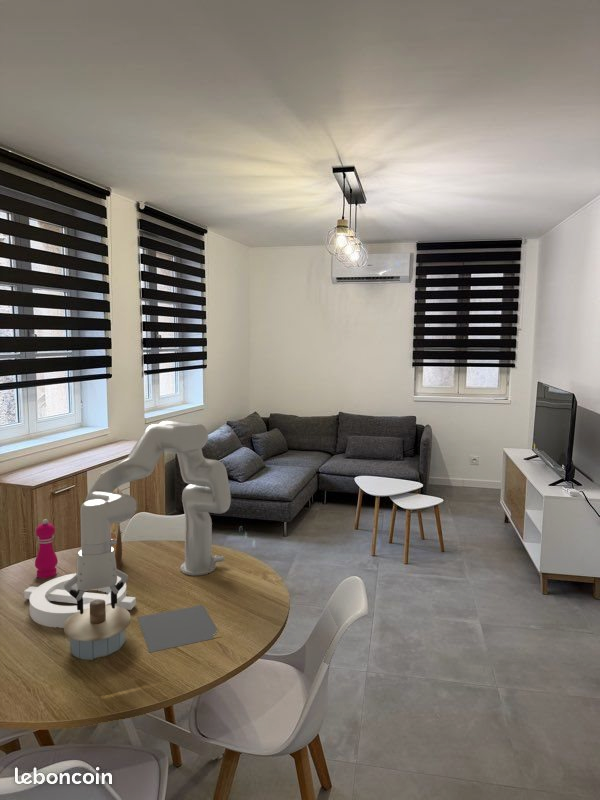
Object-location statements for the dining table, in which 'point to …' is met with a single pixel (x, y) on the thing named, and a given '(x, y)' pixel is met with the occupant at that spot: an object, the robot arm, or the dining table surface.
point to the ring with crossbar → (55, 591)
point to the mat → (177, 628)
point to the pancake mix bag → (117, 536)
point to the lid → (97, 622)
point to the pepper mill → (45, 551)
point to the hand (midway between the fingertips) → (97, 608)
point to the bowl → (97, 646)
